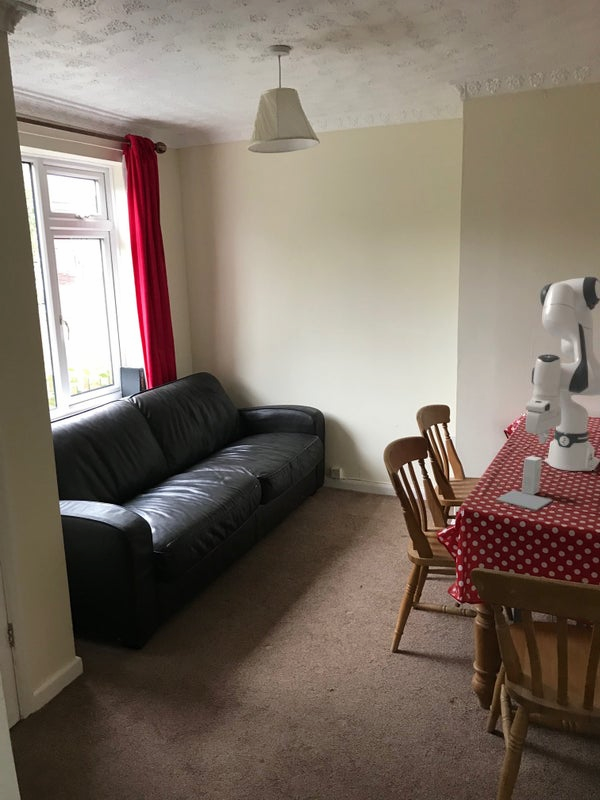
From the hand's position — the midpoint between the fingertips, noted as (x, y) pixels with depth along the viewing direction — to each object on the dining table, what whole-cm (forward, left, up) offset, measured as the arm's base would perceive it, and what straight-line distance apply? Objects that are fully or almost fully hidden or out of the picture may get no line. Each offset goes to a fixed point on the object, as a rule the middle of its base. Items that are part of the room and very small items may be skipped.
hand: (543, 442), depth 230 cm
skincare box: (+8, 0, -16) cm, 18 cm away
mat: (+16, +2, -17) cm, 23 cm away
